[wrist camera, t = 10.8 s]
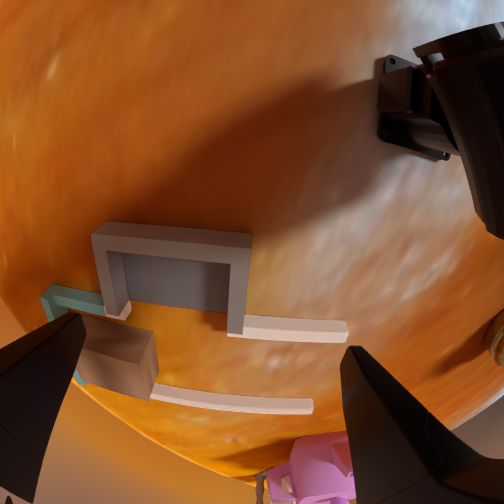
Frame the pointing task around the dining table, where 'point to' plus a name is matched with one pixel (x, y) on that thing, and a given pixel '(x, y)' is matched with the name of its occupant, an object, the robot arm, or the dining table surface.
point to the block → (118, 358)
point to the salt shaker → (496, 339)
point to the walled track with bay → (187, 297)
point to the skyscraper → (260, 490)
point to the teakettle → (316, 471)
